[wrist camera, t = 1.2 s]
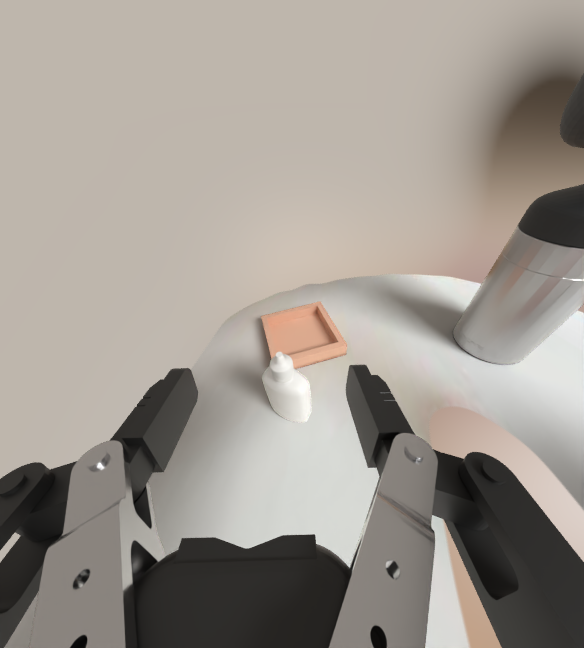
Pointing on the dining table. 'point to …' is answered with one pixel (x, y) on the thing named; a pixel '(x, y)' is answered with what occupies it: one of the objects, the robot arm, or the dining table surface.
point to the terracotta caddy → (304, 335)
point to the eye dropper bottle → (287, 389)
